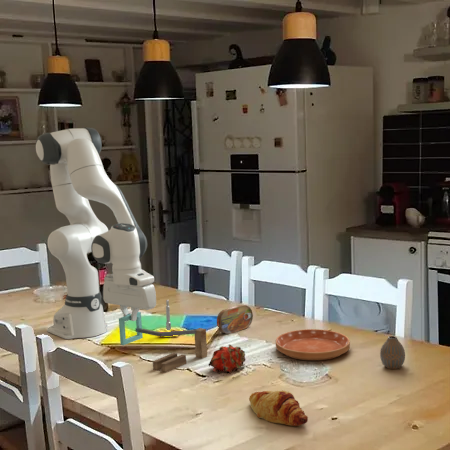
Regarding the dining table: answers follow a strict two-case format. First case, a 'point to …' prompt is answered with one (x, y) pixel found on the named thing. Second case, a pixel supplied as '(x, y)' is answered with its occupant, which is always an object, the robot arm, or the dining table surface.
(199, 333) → the curved rod stand
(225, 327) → the tin
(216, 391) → the dining table surface
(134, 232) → the robot arm
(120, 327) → the square ring
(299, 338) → the saucer
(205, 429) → the dining table surface
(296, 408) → the croissant
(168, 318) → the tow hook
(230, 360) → the dragon fruit
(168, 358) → the slot block
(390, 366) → the vase
